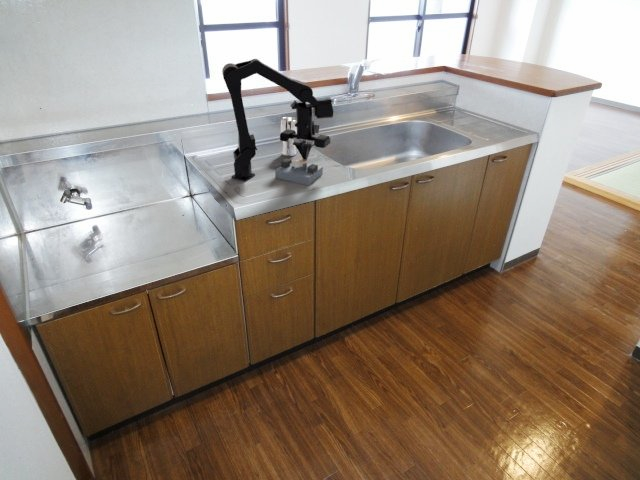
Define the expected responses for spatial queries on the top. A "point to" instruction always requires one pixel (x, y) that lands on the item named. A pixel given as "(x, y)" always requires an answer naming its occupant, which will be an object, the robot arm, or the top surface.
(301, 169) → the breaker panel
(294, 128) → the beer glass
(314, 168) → the plug right
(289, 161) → the plug left
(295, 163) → the breaker paddle
